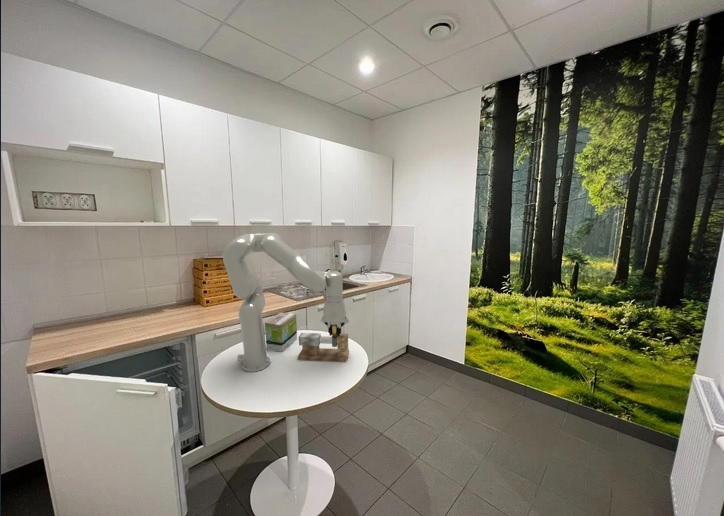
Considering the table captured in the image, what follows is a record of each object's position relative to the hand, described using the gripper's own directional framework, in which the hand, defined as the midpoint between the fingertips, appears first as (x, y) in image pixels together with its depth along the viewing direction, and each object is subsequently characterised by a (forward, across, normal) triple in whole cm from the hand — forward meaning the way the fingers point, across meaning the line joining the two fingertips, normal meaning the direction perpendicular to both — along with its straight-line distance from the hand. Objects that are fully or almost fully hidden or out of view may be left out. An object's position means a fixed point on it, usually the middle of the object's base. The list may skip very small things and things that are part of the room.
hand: (334, 334), depth 142 cm
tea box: (+13, -30, +10) cm, 34 cm away
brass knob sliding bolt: (+5, -3, 0) cm, 6 cm away
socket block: (+10, +4, 0) cm, 11 cm away
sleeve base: (+12, -6, 0) cm, 13 cm away
